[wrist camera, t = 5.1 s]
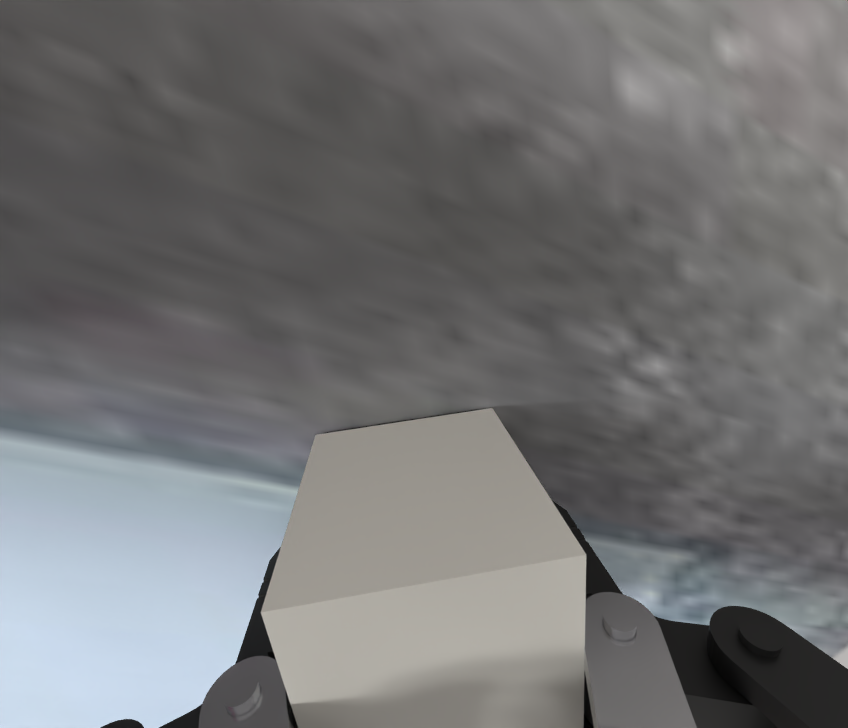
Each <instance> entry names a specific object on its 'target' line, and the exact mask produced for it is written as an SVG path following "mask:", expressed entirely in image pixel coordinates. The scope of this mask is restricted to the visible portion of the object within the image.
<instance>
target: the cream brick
mask: <svg viewBox="0 0 848 728" xmlns="http://www.w3.org/2000/svg"><path fill="white" fill-rule="evenodd" d="M585 608H586V553H585V552H584V550H583V549H582V547H581V545H580V544H579V542H578V541H577V539H576V538H575V536H574V535H573V533H572V531H571V530H570V528H569V527H568V525H567V524H566V522H565V520H564V519H563V517H562V516H561V514H560V513H559V511H558V510H557V508H556V506H555V505H554V503H553V502H552V500H551V499H550V497H549V496H548V494H547V492H546V491H545V489H544V488H543V486H542V485H541V483H540V482H539V480H538V478H537V477H536V475H535V474H534V472H533V471H532V469H531V467H530V466H529V464H528V463H527V461H526V460H525V458H524V457H523V455H522V453H521V452H520V450H519V449H518V447H517V446H516V444H515V443H514V441H513V439H512V438H511V436H510V435H509V433H508V432H507V430H506V429H505V427H504V425H503V424H502V422H501V421H500V419H499V418H498V416H497V415H496V413H495V411H494V410H493V408H489V409H482V410H476V411H469V412H463V413H456V414H449V415H443V416H436V417H430V418H423V419H416V420H410V421H403V422H397V423H390V424H384V425H377V426H370V427H364V428H357V429H351V430H344V431H337V432H331V433H324V434H318V435H315V439H314V442H313V445H312V448H311V451H310V455H309V458H308V461H307V464H306V468H305V471H304V474H303V477H302V481H301V484H300V487H299V490H298V494H297V497H296V500H295V503H294V506H293V510H292V513H291V516H290V519H289V523H288V526H287V529H286V532H285V536H284V539H283V542H282V545H281V548H280V552H279V555H278V558H277V561H276V565H275V568H274V571H273V574H272V578H271V581H270V584H269V587H268V591H267V594H266V597H265V600H264V603H263V607H262V610H261V615H262V618H263V621H264V624H265V627H266V630H267V633H268V637H269V640H270V643H271V646H272V649H273V652H274V655H275V658H276V661H277V664H278V667H279V670H280V673H281V677H282V680H283V683H284V686H285V689H286V692H287V695H288V698H289V701H290V704H291V707H292V710H293V714H294V717H295V720H296V723H297V726H298V728H584V647H585Z"/></svg>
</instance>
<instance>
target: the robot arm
mask: <svg viewBox="0 0 848 728" xmlns="http://www.w3.org/2000/svg"><path fill="white" fill-rule="evenodd" d="M552 502H553V503H554V505H555V506H556V508H557V510H558V511H559V513H560V514H561V516H562V517H563V519H564V520H565V522H566V524H567V525H568V527H569V528H570V530H571V531H572V533H573V535H574V536H575V538H576V539H577V541H578V542H579V544H580V545H581V547H582V549H583V550H584V552H585V553H586V608H585V647H584V728H848V669H847V668H845V667H844V666H842V665H841V664H840V663H838V662H837V661H835V660H834V659H833V658H831V657H830V656H828V655H827V654H825V653H824V652H823V651H821V650H820V649H818V648H817V647H816V646H814V645H813V644H811V643H810V642H808V641H807V640H806V639H804V638H803V637H801V636H800V635H799V634H797V633H796V632H794V631H793V630H792V629H790V628H789V627H787V626H786V625H784V624H783V623H781V622H780V621H778V620H777V619H775V618H773V617H771V616H769V615H767V614H765V613H763V612H760V611H757V610H754V609H751V608H747V607H741V606H728V607H723V608H721V609H718V610H717V611H716V612H715V613H714V614H713V615H712V617H711V620H710V625H709V626H708V625H700V624H691V623H683V622H675V621H669V620H664V619H661V618H658V617H655V616H654V615H653V614H652V613H651V612H650V611H649V610H648V609H647V608H646V607H645V606H644V605H642V604H641V603H639V602H638V601H636V600H634V599H633V598H631V597H628V596H626V595H623V594H622V592H621V591H620V590H619V588H618V587H617V585H616V584H615V582H614V581H613V579H612V578H611V576H610V575H609V573H608V572H607V570H606V569H605V567H604V566H603V564H602V563H601V561H600V560H599V558H598V557H597V556H596V554H595V553H594V551H593V550H592V548H591V547H590V545H589V544H588V542H586V541H585V538H584V536H583V535H582V533H581V532H580V530H579V529H577V526H576V524H575V523H574V521H573V520H572V518H571V517H570V515H569V514H568V512H567V511H566V510H565V509H563V508H562V507H561V506H559V505H558V504H556V503H555V502H554V501H552ZM280 548H281V547H280ZM280 548H279V550H278V551H277V552H276V553H275V555H274V556H273V557H272V558H271V560H270V561H269V564H268V567H267V571H266V574H265V577H264V583H262V586H261V589H260V592H259V598H258V599H257V601H256V604H255V607H254V610H253V613H252V616H251V619H250V622H249V625H248V628H247V631H246V634H245V637H244V640H243V643H242V646H241V649H240V652H239V655H238V658H237V661H236V664H235V665H233V666H232V667H230V668H229V669H228V670H227V671H225V672H224V673H223V674H222V675H221V676H220V677H219V678H218V679H217V680H216V682H215V683H214V684H213V685H212V687H211V688H210V690H209V691H208V693H207V695H206V697H205V699H204V701H203V704H202V705H200V706H199V707H197V708H196V709H194V710H192V711H191V712H189V713H187V714H185V715H183V716H181V717H179V718H177V719H175V720H173V721H171V722H169V723H167V724H165V725H163V726H161V727H159V728H298V726H297V723H296V720H295V717H294V714H293V710H292V707H291V704H290V701H289V698H288V695H287V692H286V689H285V686H284V683H283V680H282V677H281V673H280V670H279V667H278V664H277V661H276V658H275V655H274V652H273V649H272V646H271V643H270V640H269V637H268V633H267V630H266V627H265V624H264V621H263V618H262V615H261V610H262V607H263V603H264V600H265V597H266V594H267V591H268V587H269V584H270V581H271V578H272V574H273V571H274V568H275V565H276V561H277V558H278V555H279V552H280ZM101 728H144V727H143V726H142V724H141V723H139V722H138V721H135V720H132V719H124V720H118V721H115V722H112V723H109V724H107V725H105V726H103V727H101Z"/></svg>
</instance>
